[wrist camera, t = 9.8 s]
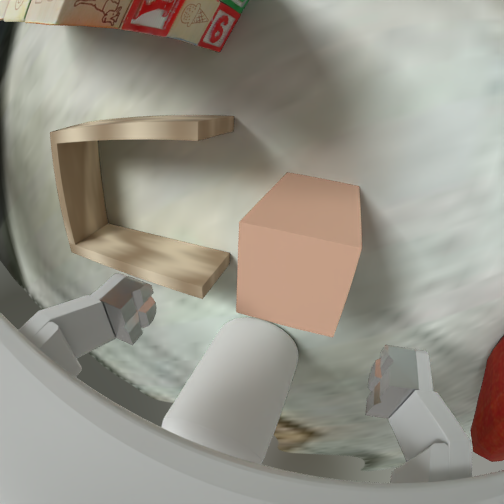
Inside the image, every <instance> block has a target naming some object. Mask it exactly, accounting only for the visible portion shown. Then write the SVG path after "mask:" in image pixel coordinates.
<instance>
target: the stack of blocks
mask: <svg viewBox="0 0 504 504" xmlns="http://www.w3.org/2000/svg"><path fill="white" fill-rule="evenodd" d="M248 1H249V0H0V20H4V21H5V22H26V23H36V24H46V25H68V26H90V27H102V28H115V29H120V30H126V31H132V32H138V33H143V34H149V35H155V36H160V37H168V38H174V39H177V40H180V41H183V42H186V43H189V44H192V45H195V46H199V47H203V48H207V49H210V50H213V51H216V52H220V51H221V50H222V48H223V46H224V44H225V42H226V40H227V38H228V37H229V35H230V33H231V31H232V29H233V28H234V26H235V24H236V22H237V20H238V19H239V17H240V15H241V13H242V11H243V9H244V8H245V6H246V4H247V3H248Z"/></svg>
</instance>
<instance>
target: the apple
mask: <svg viewBox="0 0 504 504" xmlns="http://www.w3.org/2000/svg"><path fill="white" fill-rule="evenodd" d="M470 431H471V437H472V445H473V452H475V453H477V454H478V455H480V456H482V457H484V458H486V459H488V460H489V461H492V462H493V461H502V460H504V336H503V337H502V338H501V339H500V341H499V342H498V344H497V345H496V347H495V348H494V349H493V351H492V353H491V354H490V356H489V358H488V359H487V364H486V369H485V374H484V378H483V382H482V386H481V390H480V394H479V397H478V402H477V407H476V411H475V415H474V419H473V423H472V427H471V430H470Z"/></svg>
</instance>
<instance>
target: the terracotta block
mask: <svg viewBox="0 0 504 504" xmlns="http://www.w3.org/2000/svg"><path fill="white" fill-rule="evenodd" d="M361 250H362V232H361V208H360V192H359V186H355V185H351V184H346V183H341V182H337V181H332V180H327V179H322V178H316V177H311V176H306V175H300V174H294V173H288V172H287V173H286V174H285V175H284V176H283V177H282V178H281V179H280V180H279V181H278V182H277V183H276V184H275V185H274V186H273V187H272V188H271V189H270V191H269V192H268V193H267V194H266V195H265V196H264V197H263V198H262V199H261V200H260V201H259V202H258V203H257V204H256V205H255V206H254V207H253V208H252V209H251V210H250V211H249V212H248V213H247V214H246V215H245V217H244V218H243V219H242V220H241V221H240V222H239V242H238V271H237V304H236V312H238V313H241V314H244V315H248V316H252V317H255V318H259V319H262V320H266V321H270V322H273V323H277V324H281V325H285V326H289V327H292V328H296V329H300V330H304V331H308V332H312V333H317V334H321V335H325V336H329V337H333V336H334V333H335V331H336V328H337V325H338V322H339V319H340V317H341V314H342V311H343V308H344V305H345V302H346V299H347V296H348V293H349V290H350V287H351V284H352V280H353V277H354V274H355V271H356V267H357V264H358V260H359V257H360V253H361Z"/></svg>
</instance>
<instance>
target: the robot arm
mask: <svg viewBox="0 0 504 504" xmlns="http://www.w3.org/2000/svg"><path fill="white" fill-rule="evenodd" d="M152 294H153V289H152V285H150V284H148V283H145V282H143V281H140V280H137V279H135V278H132V277H129V276H126V275H124V274H121V273H116V274H114V275H113V276H112V277H111V278H110V279H108V280H107V281H106V282H105V283H104V284H103V285H102V286H101V287H99V288H98V289H97V290H96V291H95V292H94V293H93V294H92V295H90V296H89V295H85V296H82V297H79V298H76V299H73V300H70V301H67V302H64V303H61V304H58V305H55V306H52V307H49V308H46V309H43V310H40V311H38V312H37V313H36V314H35V315H34V316H33V317H32V318H31V319H30V320H28V321H27V322H26V323H25V324H24V325H23V326H22V327H21V328H20V329H19V330H17V329H16V328H15V327H14V326H13V325H12V324H11V323H10V322H9V321H8V320H7V319H6V318H5V317H4V316H3V315H2V314H1V313H0V504H504V470H502V471H498V472H494V473H490V474H485V475H480V476H474V477H472V452H471V440H470V439H469V437H468V436H467V434H466V433H465V431H464V430H463V428H462V427H461V425H460V424H459V422H458V421H457V419H456V418H455V416H454V415H453V414H452V412H451V411H450V409H449V408H448V406H447V405H446V404H445V402H444V401H443V399H442V398H441V396H440V395H439V394H438V392H434V391H433V382H432V374H431V367H430V360H429V354H428V352H427V351H424V350H417V349H411V348H404V347H398V346H392V345H385V346H384V347H383V349H382V351H381V358H380V359H378V360H376V361H375V363H374V364H373V366H372V369H371V372H370V375H369V380H368V388H369V390H370V391H371V393H370V395H369V396H368V397H367V405H366V415H369V416H375V417H382V418H389V419H388V420H389V423H390V425H391V427H392V429H393V432H394V434H395V436H396V438H397V441H398V443H399V445H400V447H401V450H402V452H403V454H404V457H405V459H406V461H407V462H406V463H404V464H403V465H401V466H399V467H398V468H396V469H395V470H394V471H392V475H391V481H390V483H375V482H374V483H373V482H359V481H348V480H338V479H331V478H324V477H317V476H311V475H306V474H300V473H295V472H290V471H286V470H281V469H277V468H273V467H269V466H265V465H261V464H258V463H254V462H251V461H247V460H244V459H241V458H237V457H234V456H231V455H228V454H225V453H222V452H219V451H217V450H214V449H211V448H208V447H206V446H203V445H201V444H198V443H196V442H193V441H191V440H188V439H186V438H183V437H181V436H179V435H177V434H174V433H172V432H170V431H168V430H166V429H163V428H161V427H159V426H157V425H155V424H153V423H151V422H149V421H147V420H145V419H143V418H141V417H140V416H137V415H136V414H134V413H132V412H130V411H128V410H127V409H125V408H123V407H121V406H120V405H118V404H116V403H115V402H113V401H111V400H110V399H108V398H106V397H105V396H103V395H101V394H100V393H98V392H97V391H95V390H94V389H92V388H90V387H89V386H88V385H86V384H85V383H83V382H82V381H80V380H79V379H77V378H76V376H77V375H78V374H79V373H80V371H81V370H82V369H81V368H82V367H81V365H80V363H79V362H78V360H77V359H76V358H78V357H80V356H82V355H84V354H86V353H88V352H90V351H92V350H94V349H96V348H98V347H100V346H102V345H104V344H106V343H108V342H110V341H112V340H114V339H116V338H118V339H120V340H122V341H125V342H127V343H129V344H131V345H133V344H134V343H135V342H136V341H137V340H138V338H139V337H140V336H141V335H142V334H143V328H144V327H146V326H149V325H150V324H151V322H152V321H153V320H154V317H155V315H156V302H155V301H154V299H153V298H152V297H151V296H152ZM115 337H116V338H115Z"/></svg>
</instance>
